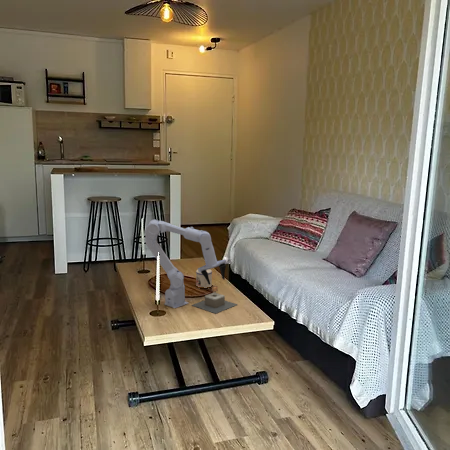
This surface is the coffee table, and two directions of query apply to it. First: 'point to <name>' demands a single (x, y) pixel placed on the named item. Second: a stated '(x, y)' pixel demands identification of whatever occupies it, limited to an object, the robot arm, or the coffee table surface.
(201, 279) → the teacup with lid
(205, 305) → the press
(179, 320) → the coffee table surface
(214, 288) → the plunger
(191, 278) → the coffee table surface
